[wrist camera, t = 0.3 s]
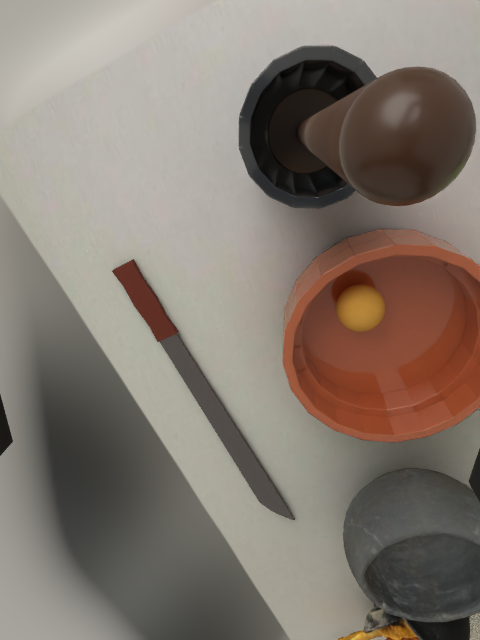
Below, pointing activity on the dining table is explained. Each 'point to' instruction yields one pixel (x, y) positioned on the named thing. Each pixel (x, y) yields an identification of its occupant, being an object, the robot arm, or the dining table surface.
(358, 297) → the ball
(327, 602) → the dining table surface
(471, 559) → the bowl
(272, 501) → the knife
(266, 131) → the crock
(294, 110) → the wooden plunger
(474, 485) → the robot arm
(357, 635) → the black and gold pieces
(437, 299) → the orange plant saucer
